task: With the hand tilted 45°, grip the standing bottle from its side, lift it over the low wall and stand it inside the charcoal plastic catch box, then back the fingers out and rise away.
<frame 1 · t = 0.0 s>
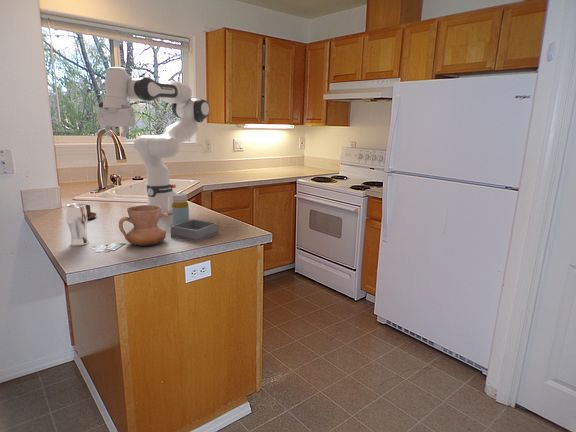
hand: (116, 136, 172), 39 cm above the counter, tool pointing down, fingers open, 8 cm apart
beer glass: (80, 244, 148), on the counter
bottle: (181, 227, 172), on the counter
ceramic jug: (145, 243, 149), on the counter
catch box: (195, 235, 161), on the counter
cup and saucer: (82, 219, 184), on the counter
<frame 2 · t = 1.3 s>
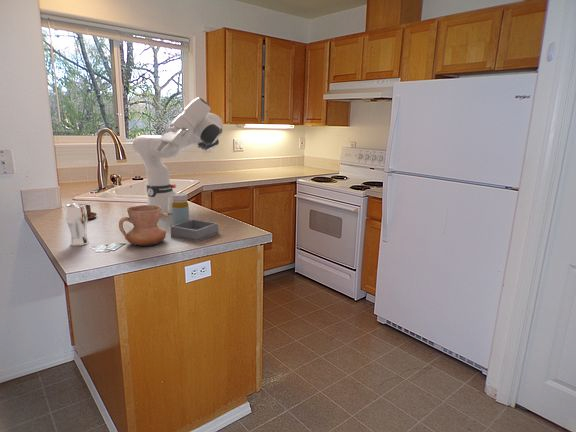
hand: (160, 151, 165), 33 cm above the counter, tool tilted 45°, fingers open, 8 cm apart
nothing on the counter moved.
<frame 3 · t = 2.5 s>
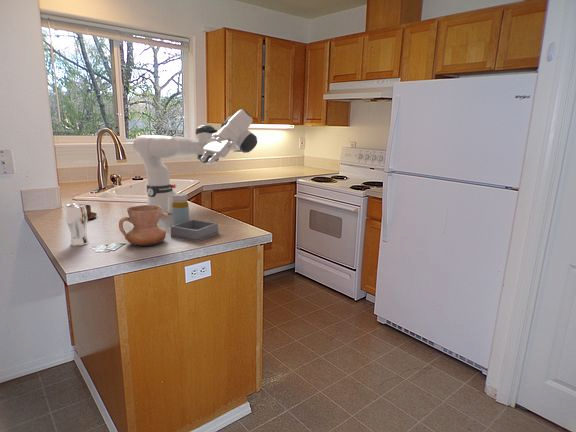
hand: (205, 161, 171), 29 cm above the counter, tool tilted 45°, fingers open, 8 cm apart
nothing on the counter moved.
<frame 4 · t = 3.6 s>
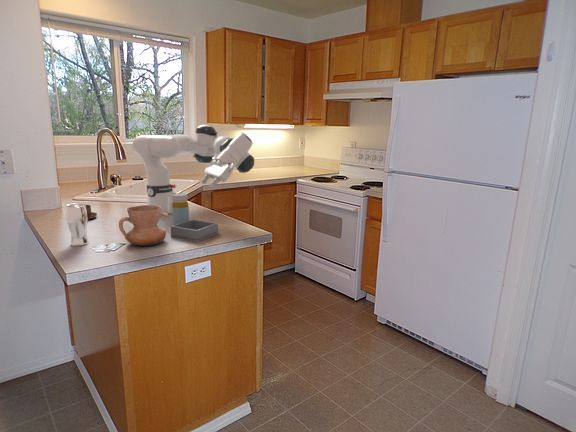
hand: (206, 184, 174), 18 cm above the counter, tool tilted 45°, fingers open, 8 cm apart
nothing on the counter moved.
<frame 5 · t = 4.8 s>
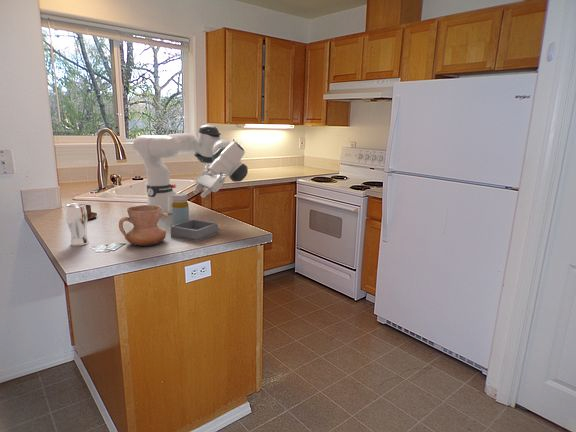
hand: (198, 194, 172), 14 cm above the counter, tool tilted 45°, fingers open, 8 cm apart
nothing on the counter moved.
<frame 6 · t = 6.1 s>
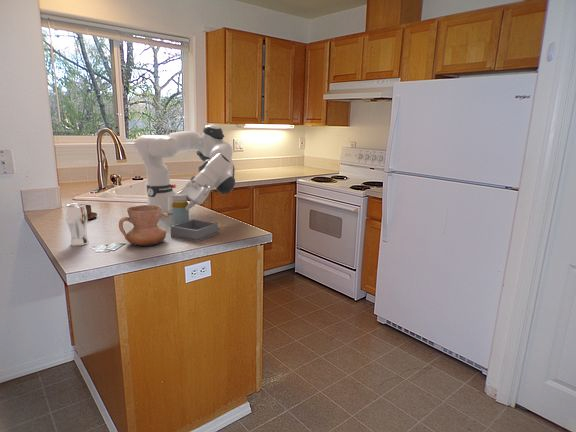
hand: (182, 207, 170), 9 cm above the counter, tool tilted 45°, fingers open, 8 cm apart
nothing on the counter moved.
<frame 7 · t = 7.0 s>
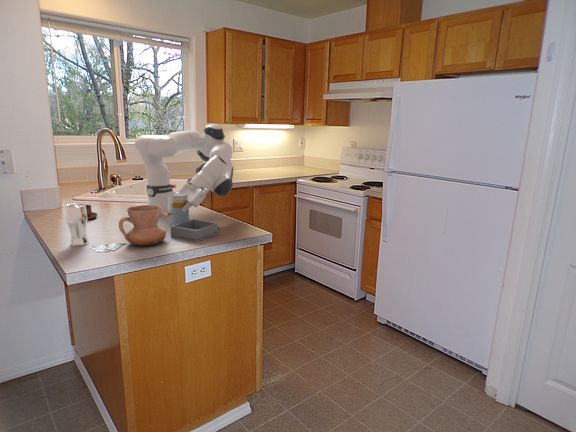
hand: (179, 209, 169), 8 cm above the counter, tool tilted 45°, fingers closed on bottle, 7 cm apart
bottle: (181, 227, 172), on the counter, touching gripper
everything else where it was.
when the fingers open (11 cm above the counter, at t = 13.6 s): bottle stays where it is, resting on catch box.
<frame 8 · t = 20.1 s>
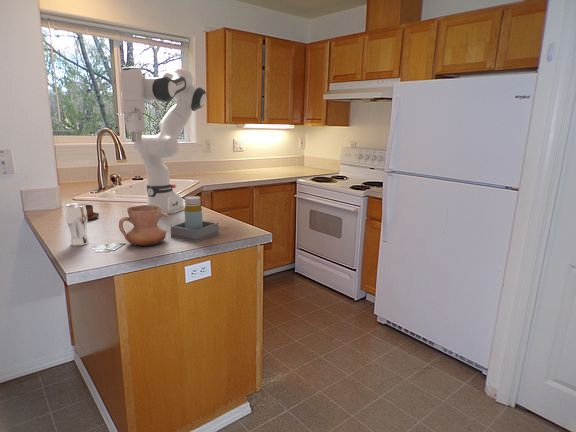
hand: (136, 142, 160), 37 cm above the counter, tool pointing down, fingers open, 8 cm apart
bottle: (194, 233, 161), point 1 cm above the counter, touching catch box
at the end: bottle inside the target area on the catch box (0.3 cm from its centre), point 0.8 cm above the catch box's base; bottle tilted 0°; the gripper is holding nothing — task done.
